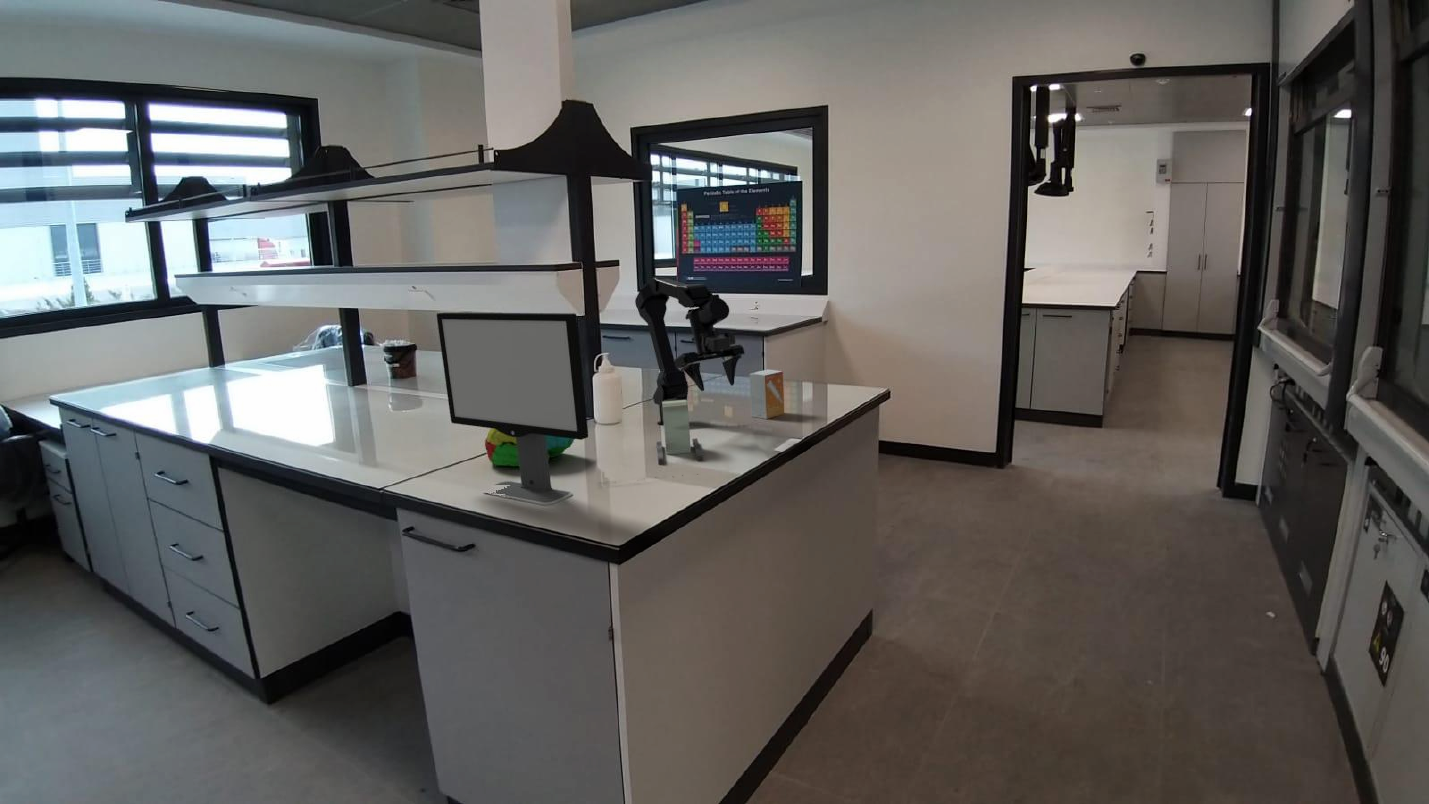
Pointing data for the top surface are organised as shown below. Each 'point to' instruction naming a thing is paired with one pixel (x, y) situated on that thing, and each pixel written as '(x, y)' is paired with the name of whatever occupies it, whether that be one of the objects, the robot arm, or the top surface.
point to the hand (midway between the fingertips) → (717, 388)
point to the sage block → (676, 427)
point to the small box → (767, 394)
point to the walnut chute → (696, 448)
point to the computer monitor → (517, 386)
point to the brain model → (505, 447)
